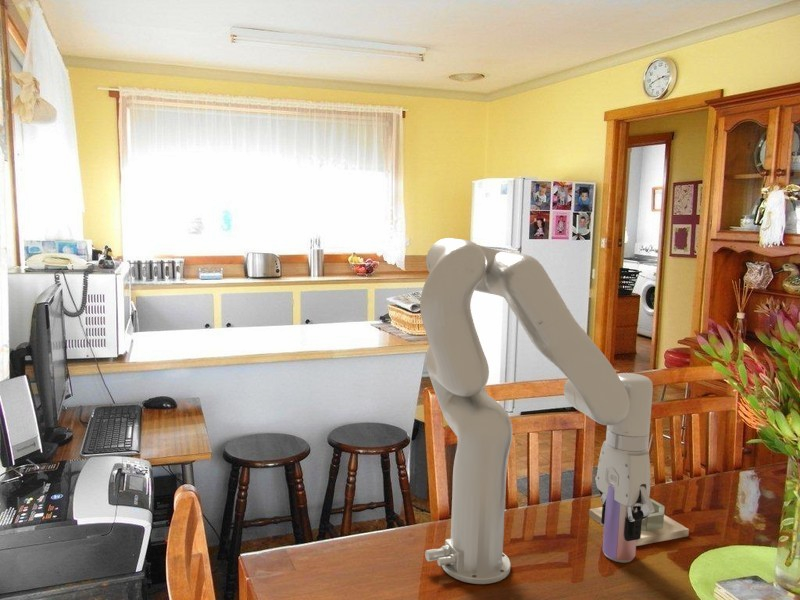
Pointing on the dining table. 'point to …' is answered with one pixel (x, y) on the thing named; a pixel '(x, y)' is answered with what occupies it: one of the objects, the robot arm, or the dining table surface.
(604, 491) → the robot arm
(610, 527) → the beverage can
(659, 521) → the can holder
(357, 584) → the dining table surface
